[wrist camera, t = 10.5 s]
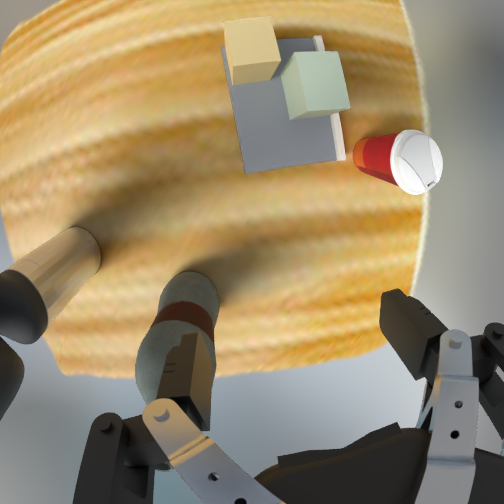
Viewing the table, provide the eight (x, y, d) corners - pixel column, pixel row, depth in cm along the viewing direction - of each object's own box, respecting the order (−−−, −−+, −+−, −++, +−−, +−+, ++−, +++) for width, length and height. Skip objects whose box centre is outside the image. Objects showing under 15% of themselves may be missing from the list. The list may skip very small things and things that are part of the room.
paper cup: (395, 164, 38) (452, 176, 25) (361, 189, 40) (413, 209, 27) (373, 122, 36) (428, 117, 23) (336, 146, 37) (384, 147, 24)
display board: (245, 172, 38) (246, 174, 35) (221, 50, 31) (220, 43, 28) (338, 159, 38) (346, 160, 35) (315, 42, 31) (321, 35, 28)
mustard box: (232, 85, 31) (233, 66, 23) (225, 48, 29) (223, 21, 21) (271, 80, 31) (283, 60, 23) (262, 43, 29) (271, 16, 21)
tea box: (289, 120, 34) (307, 111, 25) (280, 73, 31) (294, 52, 23) (325, 116, 34) (352, 108, 25) (316, 70, 31) (339, 51, 23)
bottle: (156, 275, 42) (83, 436, 14) (209, 260, 42) (184, 438, 14) (177, 321, 46) (142, 482, 18) (227, 310, 46) (229, 482, 18)
